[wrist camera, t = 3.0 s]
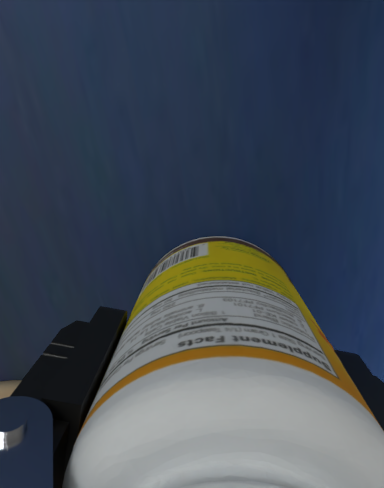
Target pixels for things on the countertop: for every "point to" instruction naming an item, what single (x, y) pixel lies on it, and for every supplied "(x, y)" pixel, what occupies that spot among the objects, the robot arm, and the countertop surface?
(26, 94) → the countertop surface
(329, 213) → the countertop surface
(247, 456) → the supplement bottle
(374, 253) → the countertop surface
